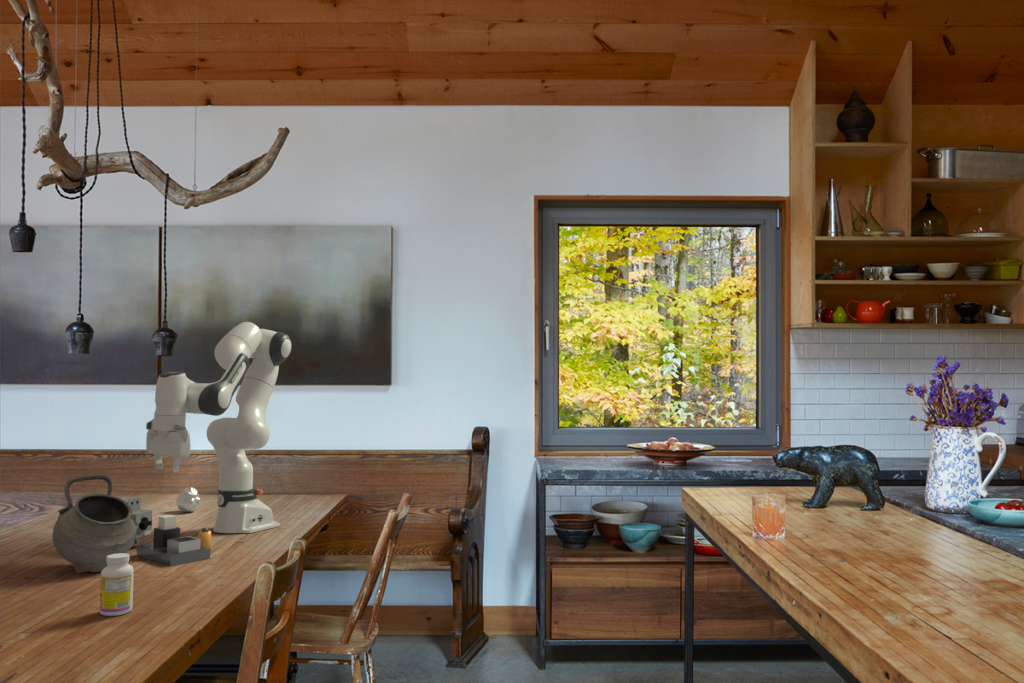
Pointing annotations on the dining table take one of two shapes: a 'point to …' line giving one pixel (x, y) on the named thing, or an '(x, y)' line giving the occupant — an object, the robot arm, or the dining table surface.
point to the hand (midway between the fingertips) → (167, 470)
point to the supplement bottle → (116, 586)
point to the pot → (93, 528)
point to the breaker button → (167, 522)
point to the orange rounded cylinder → (205, 537)
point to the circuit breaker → (139, 518)
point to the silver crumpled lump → (188, 500)
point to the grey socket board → (173, 548)
